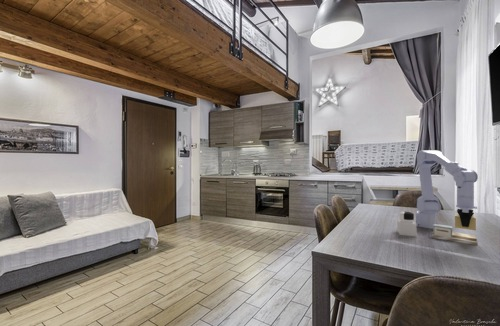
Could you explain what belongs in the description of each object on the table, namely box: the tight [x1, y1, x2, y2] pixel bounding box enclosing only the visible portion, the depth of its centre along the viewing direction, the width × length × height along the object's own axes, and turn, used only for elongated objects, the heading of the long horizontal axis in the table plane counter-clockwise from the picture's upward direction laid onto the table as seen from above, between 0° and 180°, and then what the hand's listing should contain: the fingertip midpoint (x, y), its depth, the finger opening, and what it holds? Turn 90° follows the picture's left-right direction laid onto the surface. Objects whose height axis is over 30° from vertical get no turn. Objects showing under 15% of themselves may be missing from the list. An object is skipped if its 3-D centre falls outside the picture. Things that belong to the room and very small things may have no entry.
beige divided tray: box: [431, 231, 479, 246], centre depth 114 cm, size 16×18×2 cm
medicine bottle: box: [396, 211, 417, 237], centre depth 118 cm, size 7×7×12 cm
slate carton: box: [432, 224, 453, 238], centre depth 113 cm, size 7×4×6 cm, turn 48°
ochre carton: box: [454, 213, 477, 231], centre depth 107 cm, size 7×4×6 cm, turn 47°
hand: (465, 225), depth 107 cm, fingers closed on ochre carton, 4 cm apart
